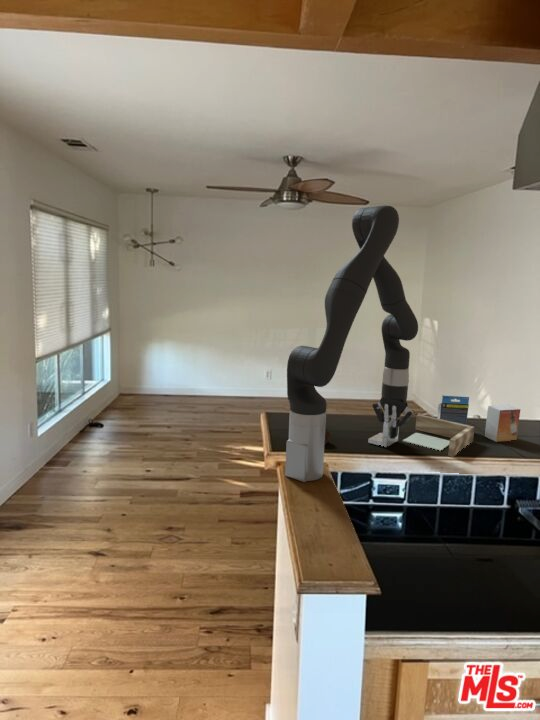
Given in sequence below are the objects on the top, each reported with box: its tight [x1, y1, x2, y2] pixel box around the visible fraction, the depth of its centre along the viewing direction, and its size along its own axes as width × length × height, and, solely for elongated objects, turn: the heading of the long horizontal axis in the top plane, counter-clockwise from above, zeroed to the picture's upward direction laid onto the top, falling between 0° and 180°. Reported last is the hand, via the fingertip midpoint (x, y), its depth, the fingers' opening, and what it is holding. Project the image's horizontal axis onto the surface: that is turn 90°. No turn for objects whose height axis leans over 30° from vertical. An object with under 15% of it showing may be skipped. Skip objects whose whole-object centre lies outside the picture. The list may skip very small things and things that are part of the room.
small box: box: [484, 404, 521, 443], centre depth 162 cm, size 8×6×10 cm
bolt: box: [324, 426, 332, 445], centre depth 160 cm, size 6×5×15 cm
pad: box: [402, 432, 450, 452], centre depth 157 cm, size 10×12×1 cm
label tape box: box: [436, 394, 470, 425], centre depth 169 cm, size 9×4×12 cm, turn 85°
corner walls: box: [414, 413, 475, 458], centre depth 157 cm, size 17×18×5 cm
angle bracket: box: [367, 419, 400, 448], centre depth 155 cm, size 8×6×8 cm
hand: (390, 437), depth 154 cm, fingers closed on angle bracket, 1 cm apart
